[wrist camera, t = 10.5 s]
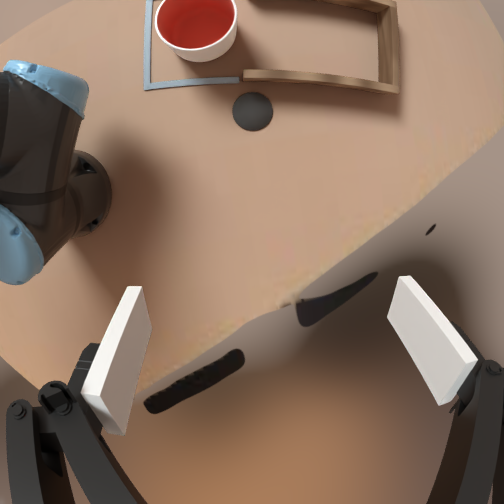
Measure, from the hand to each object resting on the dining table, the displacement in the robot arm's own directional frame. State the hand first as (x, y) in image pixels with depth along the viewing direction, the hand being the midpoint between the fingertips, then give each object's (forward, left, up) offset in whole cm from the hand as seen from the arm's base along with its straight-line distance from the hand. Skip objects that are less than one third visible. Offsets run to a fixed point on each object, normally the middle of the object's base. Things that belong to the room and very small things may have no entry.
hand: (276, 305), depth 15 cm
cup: (-6, +22, -35) cm, 42 cm away
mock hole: (+1, +9, -35) cm, 36 cm away
